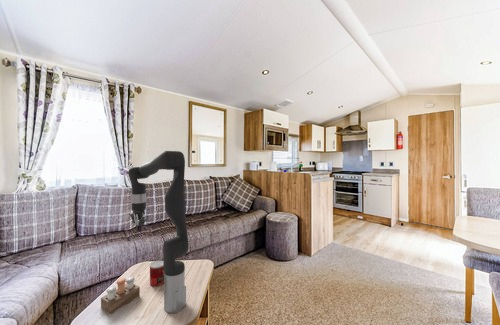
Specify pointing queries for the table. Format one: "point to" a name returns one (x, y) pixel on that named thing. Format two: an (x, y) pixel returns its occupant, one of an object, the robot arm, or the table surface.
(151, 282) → the canned food
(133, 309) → the table surface
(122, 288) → the plug terracotta
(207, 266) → the table surface
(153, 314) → the table surface
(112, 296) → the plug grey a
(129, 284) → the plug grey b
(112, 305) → the walnut block
